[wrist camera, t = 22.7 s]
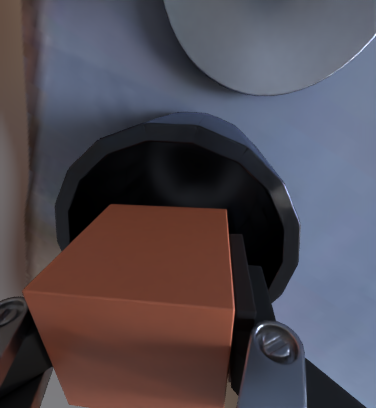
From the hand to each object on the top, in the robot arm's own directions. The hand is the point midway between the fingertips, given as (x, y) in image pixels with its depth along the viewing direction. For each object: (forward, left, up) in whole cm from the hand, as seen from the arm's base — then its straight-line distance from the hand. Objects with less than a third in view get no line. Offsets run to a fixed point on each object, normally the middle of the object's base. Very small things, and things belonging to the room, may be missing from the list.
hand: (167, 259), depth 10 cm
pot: (0, 0, -9) cm, 9 cm away
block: (0, 0, 0) cm, 0 cm away
